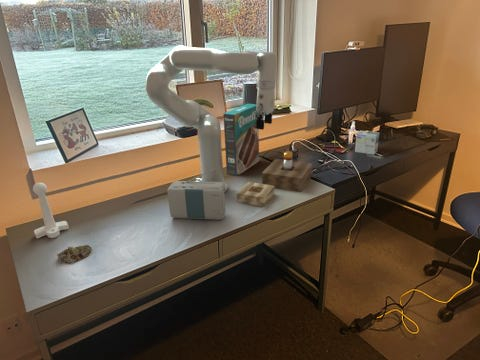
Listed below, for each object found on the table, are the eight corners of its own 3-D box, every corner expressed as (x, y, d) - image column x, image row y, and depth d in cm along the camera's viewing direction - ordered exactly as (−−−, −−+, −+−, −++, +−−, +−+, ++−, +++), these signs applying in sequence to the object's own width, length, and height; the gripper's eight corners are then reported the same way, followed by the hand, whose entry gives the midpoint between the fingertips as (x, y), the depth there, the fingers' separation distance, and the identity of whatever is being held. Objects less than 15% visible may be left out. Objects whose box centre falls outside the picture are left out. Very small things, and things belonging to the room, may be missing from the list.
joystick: (66, 224, 143) (54, 176, 135) (71, 232, 137) (58, 183, 129) (34, 234, 137) (19, 185, 129) (38, 243, 132) (22, 192, 124)
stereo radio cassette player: (170, 220, 143) (163, 172, 135) (176, 210, 151) (170, 164, 143) (223, 222, 140) (220, 173, 132) (227, 211, 148) (224, 165, 140)
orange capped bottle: (282, 176, 170) (282, 153, 166) (284, 172, 174) (285, 150, 169) (290, 177, 169) (290, 154, 164) (293, 174, 172) (293, 151, 167)
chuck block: (262, 185, 169) (261, 172, 166) (275, 171, 183) (275, 159, 181) (300, 192, 161) (301, 178, 159) (311, 176, 176) (312, 163, 174)
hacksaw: (314, 174, 179) (314, 172, 178) (300, 168, 187) (300, 165, 186) (349, 163, 190) (350, 161, 189) (335, 157, 198) (335, 155, 197)
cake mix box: (237, 175, 180) (234, 114, 168) (226, 173, 183) (223, 113, 171) (259, 161, 197) (258, 104, 185) (249, 159, 200) (247, 103, 188)
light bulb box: (377, 151, 204) (379, 132, 200) (374, 155, 199) (376, 135, 195) (357, 148, 209) (359, 129, 205) (354, 152, 204) (356, 133, 200)
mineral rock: (58, 263, 117) (54, 245, 123) (60, 272, 120) (56, 254, 125) (94, 253, 122) (88, 236, 127) (95, 262, 125) (90, 245, 130)
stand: (237, 201, 155) (236, 193, 154) (248, 190, 165) (248, 181, 164) (264, 206, 151) (264, 197, 149) (274, 194, 160) (274, 185, 159)
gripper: (267, 88, 141) (265, 132, 148) (281, 82, 156) (279, 122, 163) (249, 87, 144) (248, 130, 151) (264, 80, 158) (262, 120, 165)
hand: (264, 126), depth 157 cm, fingers open, 9 cm apart
